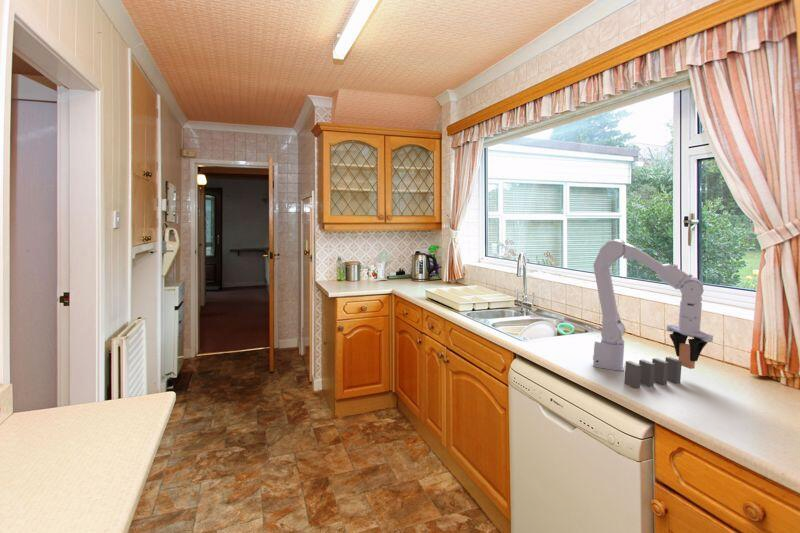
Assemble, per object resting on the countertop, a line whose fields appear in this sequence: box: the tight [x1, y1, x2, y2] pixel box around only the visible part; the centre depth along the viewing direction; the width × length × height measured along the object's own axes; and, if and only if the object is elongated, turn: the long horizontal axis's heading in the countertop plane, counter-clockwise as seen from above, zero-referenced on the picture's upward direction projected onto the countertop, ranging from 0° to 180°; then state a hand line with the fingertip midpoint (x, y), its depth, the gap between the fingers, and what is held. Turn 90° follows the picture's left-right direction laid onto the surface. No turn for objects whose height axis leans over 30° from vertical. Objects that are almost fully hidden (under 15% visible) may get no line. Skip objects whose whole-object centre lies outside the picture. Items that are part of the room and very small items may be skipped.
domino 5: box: [678, 343, 696, 370], centre depth 139 cm, size 2×4×7 cm, turn 16°
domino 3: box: [651, 357, 668, 386], centre depth 137 cm, size 2×4×7 cm, turn 16°
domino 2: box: [638, 359, 655, 387], centre depth 135 cm, size 2×4×7 cm, turn 16°
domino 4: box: [664, 356, 683, 384], centre depth 138 cm, size 2×4×7 cm, turn 16°
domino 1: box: [623, 360, 641, 389], centre depth 134 cm, size 2×4×7 cm, turn 16°
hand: (686, 358), depth 139 cm, fingers closed on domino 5, 4 cm apart
